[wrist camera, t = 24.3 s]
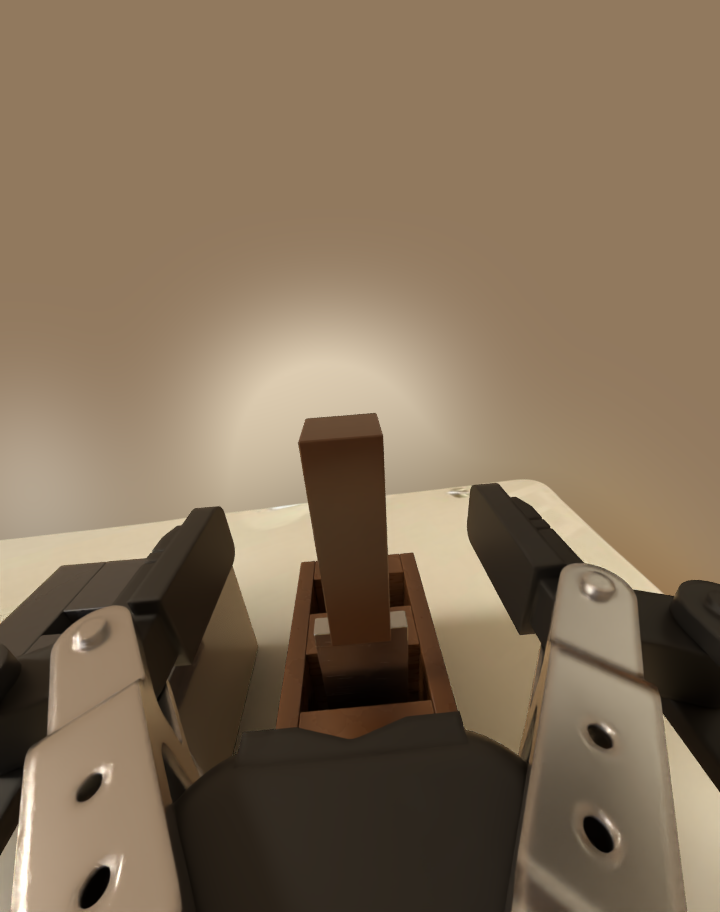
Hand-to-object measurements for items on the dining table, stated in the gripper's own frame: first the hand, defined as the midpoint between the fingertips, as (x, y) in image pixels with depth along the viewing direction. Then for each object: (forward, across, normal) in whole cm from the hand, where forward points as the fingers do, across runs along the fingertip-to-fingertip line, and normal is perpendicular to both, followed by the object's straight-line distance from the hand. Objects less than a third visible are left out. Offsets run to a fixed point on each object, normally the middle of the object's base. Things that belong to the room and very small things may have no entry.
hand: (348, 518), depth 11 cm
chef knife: (+1, 0, +18) cm, 18 cm away
